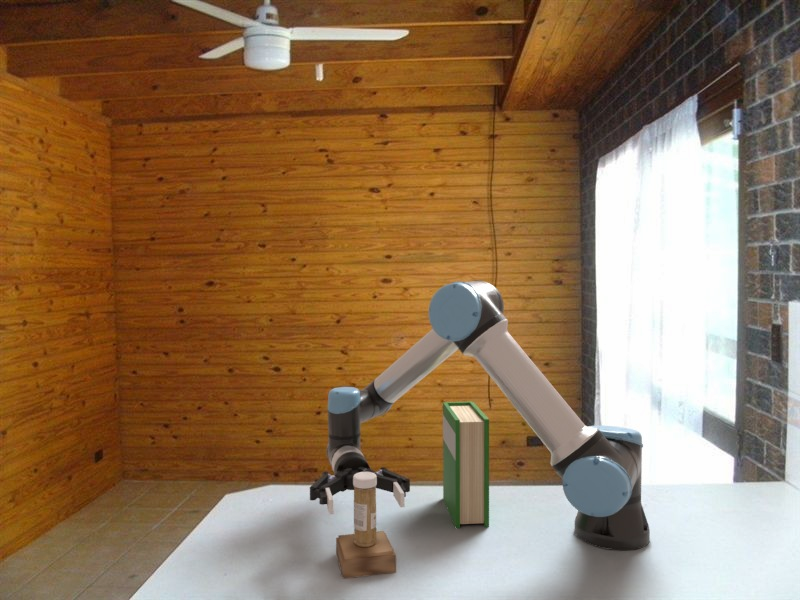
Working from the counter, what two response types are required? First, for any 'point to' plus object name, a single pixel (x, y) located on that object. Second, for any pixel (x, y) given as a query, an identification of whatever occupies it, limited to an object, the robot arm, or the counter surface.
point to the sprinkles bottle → (365, 508)
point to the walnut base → (365, 556)
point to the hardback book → (466, 463)
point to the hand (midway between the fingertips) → (367, 503)
